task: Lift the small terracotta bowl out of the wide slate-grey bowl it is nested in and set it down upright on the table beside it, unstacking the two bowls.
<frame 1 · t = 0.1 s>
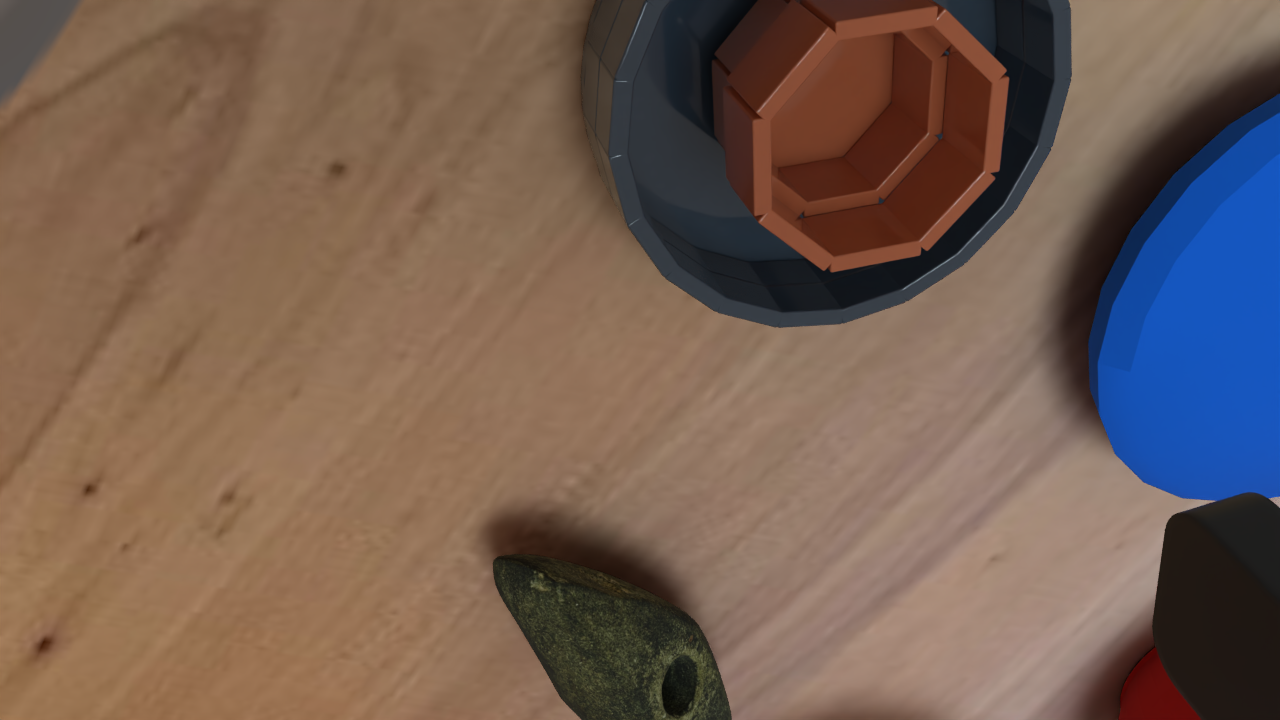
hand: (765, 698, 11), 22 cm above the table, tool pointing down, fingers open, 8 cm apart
terracotta bowl: (840, 109, 30), in the slate bowl
ceramic cup: (1220, 670, 53), on the table
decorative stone: (602, 608, 41), on the table
slate bowl: (798, 69, 32), on the table, touching terracotta bowl
blue dish: (1257, 259, 40), on the table
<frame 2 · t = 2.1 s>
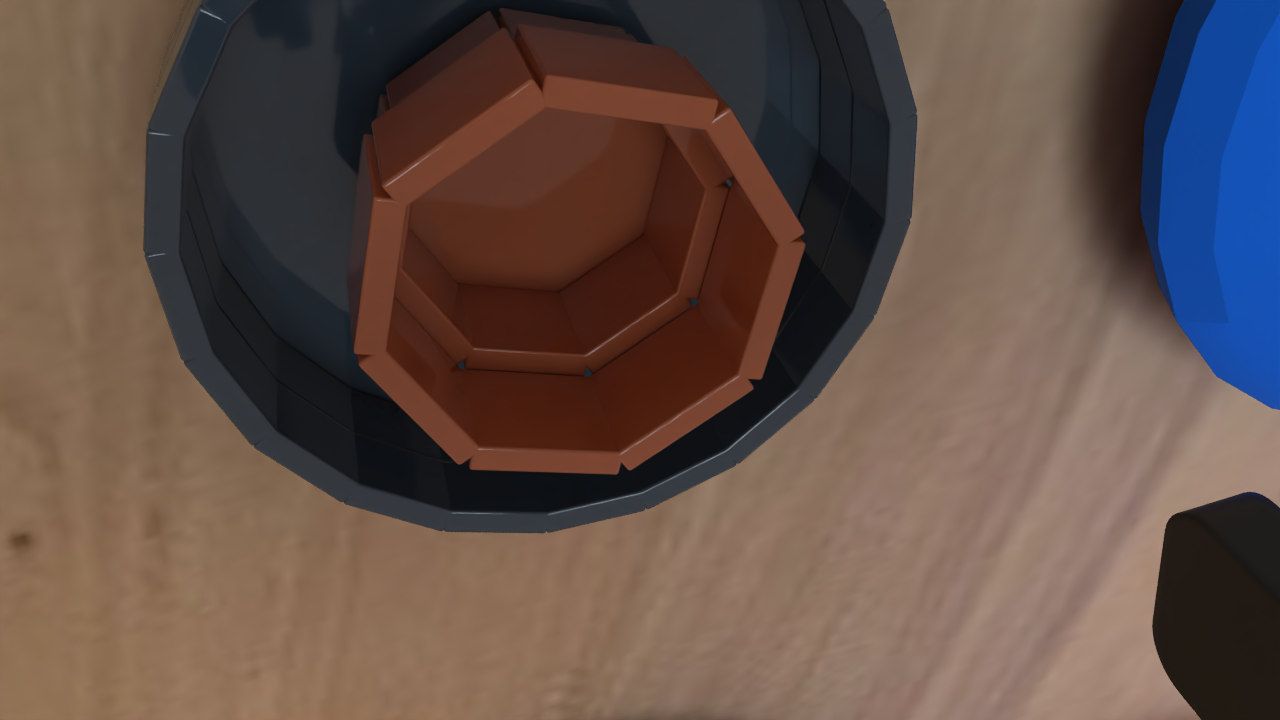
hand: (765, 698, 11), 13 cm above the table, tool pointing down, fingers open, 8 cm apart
terracotta bowl: (553, 221, 19), in the slate bowl
slate bowl: (521, 149, 21), on the table, touching terracotta bowl
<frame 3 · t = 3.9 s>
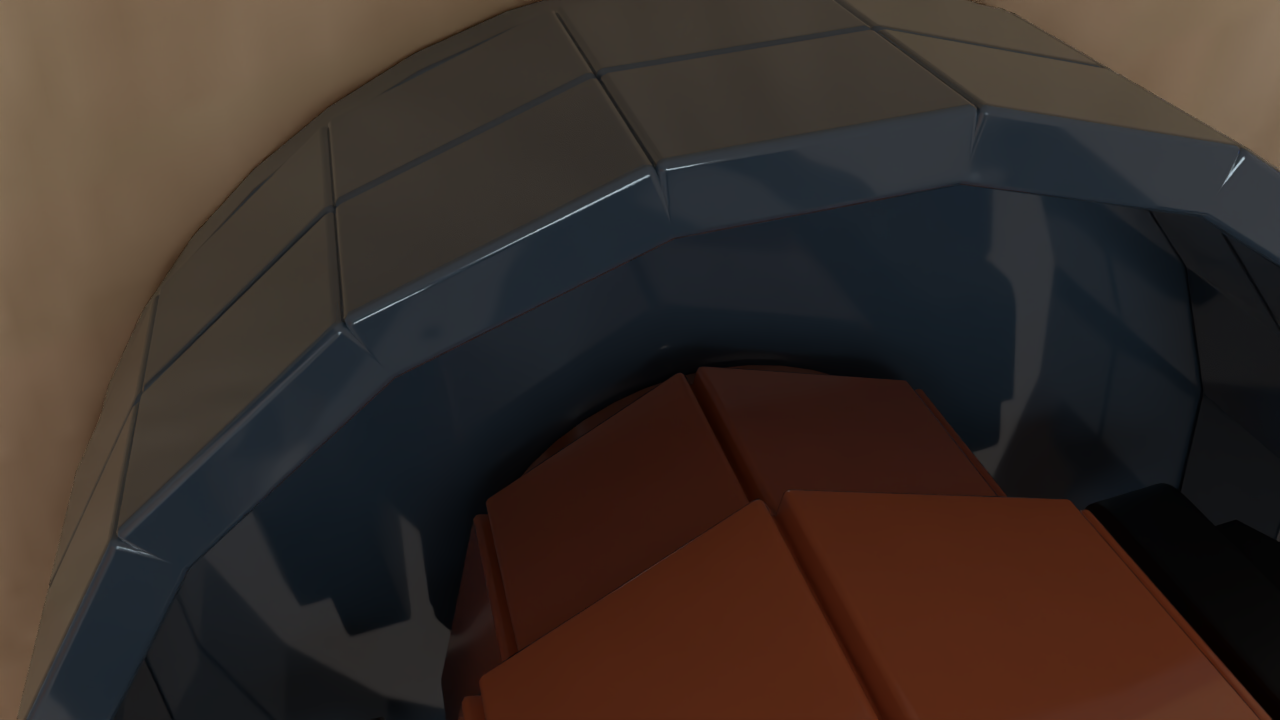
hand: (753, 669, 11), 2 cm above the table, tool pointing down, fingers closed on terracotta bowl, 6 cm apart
slate bowl: (697, 535, 13), on the table, touching terracotta bowl
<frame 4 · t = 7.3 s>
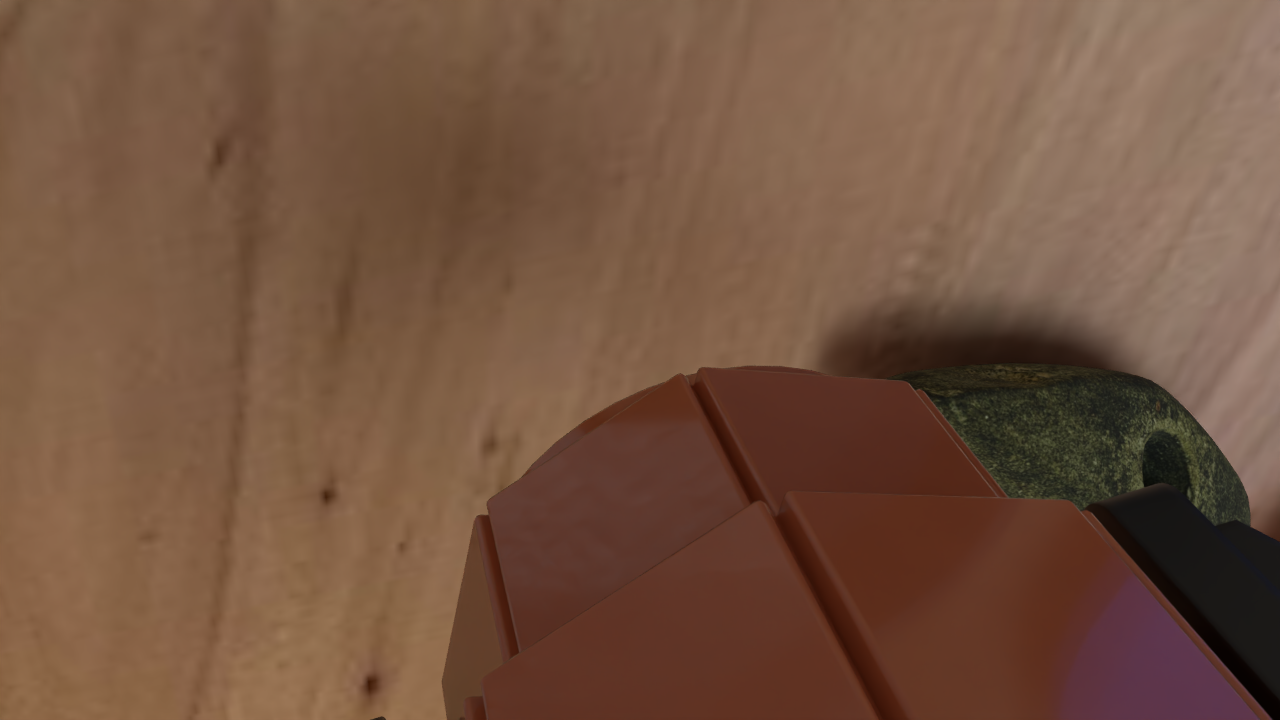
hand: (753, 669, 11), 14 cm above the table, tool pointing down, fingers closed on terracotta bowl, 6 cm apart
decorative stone: (1012, 410, 30), on the table
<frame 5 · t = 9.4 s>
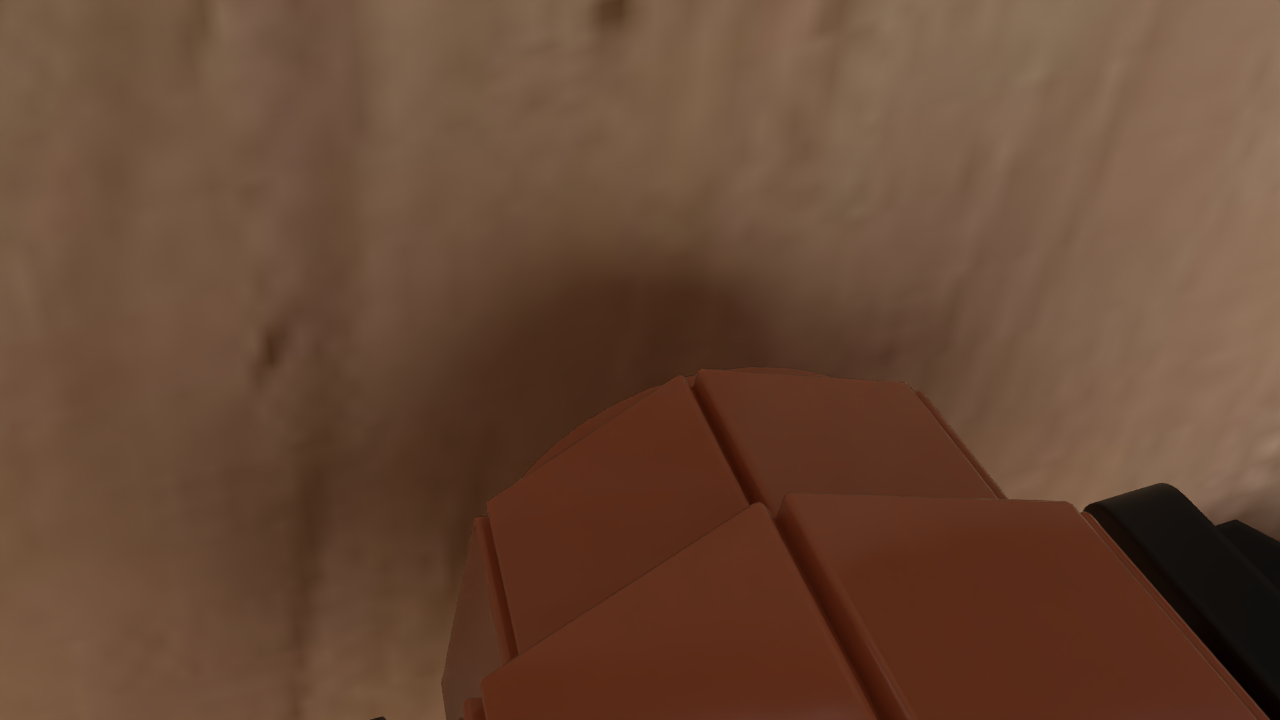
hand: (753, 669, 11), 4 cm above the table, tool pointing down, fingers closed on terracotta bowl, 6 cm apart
when the fingers open (1 cm above the table, at t = 10.8 s): terracotta bowl stays where it is, on the table.
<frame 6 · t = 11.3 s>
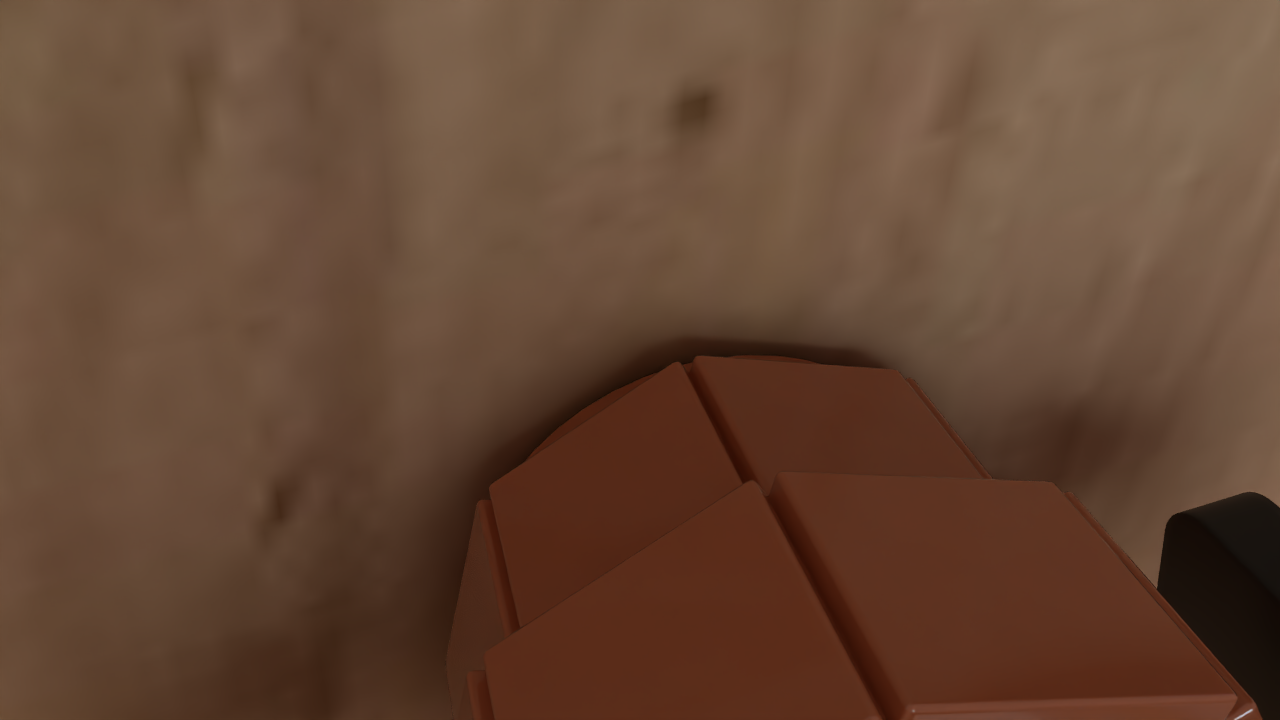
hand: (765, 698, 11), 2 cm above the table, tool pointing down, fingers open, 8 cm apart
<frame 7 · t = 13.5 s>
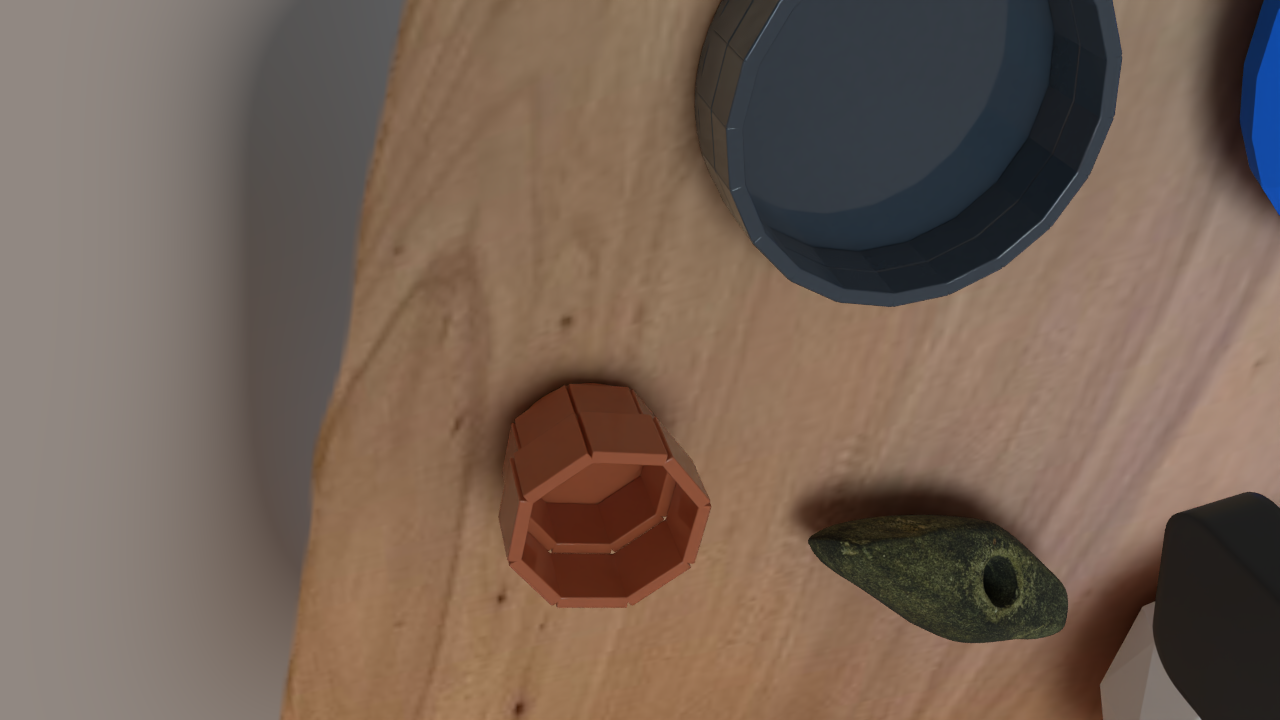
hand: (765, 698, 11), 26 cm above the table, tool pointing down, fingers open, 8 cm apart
terracotta bowl: (595, 485, 39), on the table
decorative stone: (917, 535, 48), on the table
slate bowl: (880, 82, 37), on the table
geodesic sphere: (1180, 619, 55), on the table
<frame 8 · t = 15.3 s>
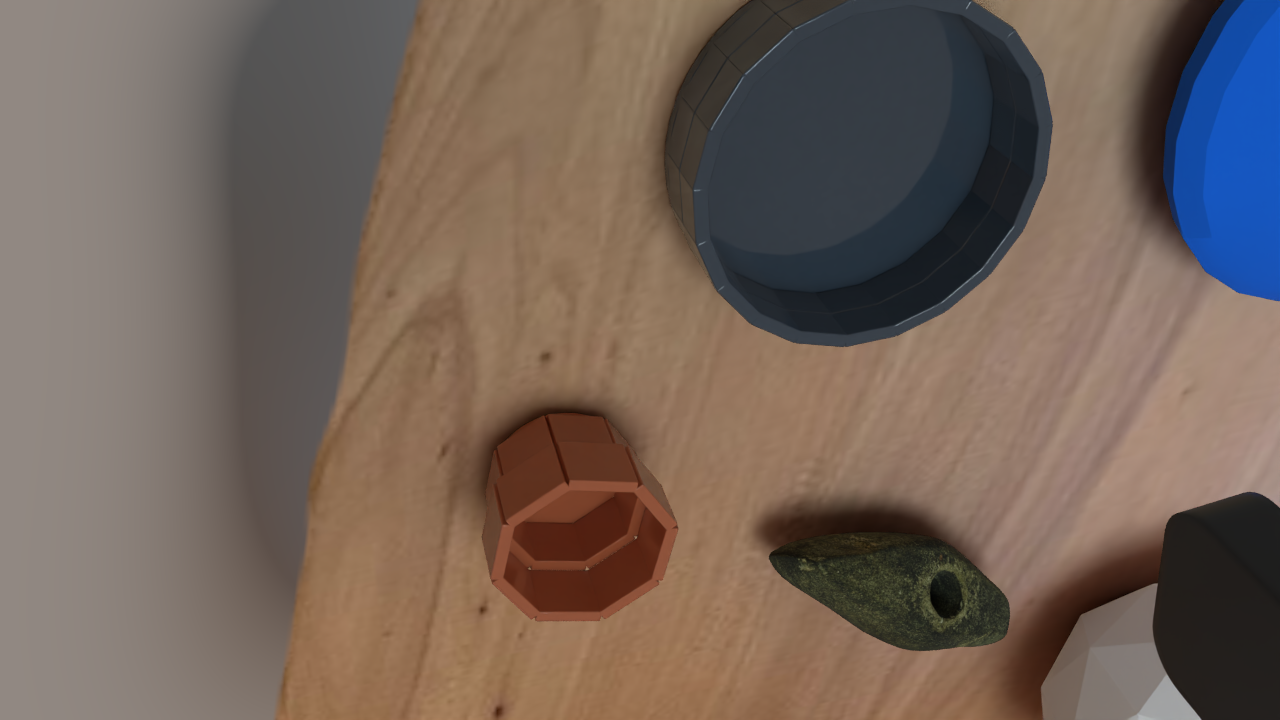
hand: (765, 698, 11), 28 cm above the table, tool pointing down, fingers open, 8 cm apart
terracotta bowl: (571, 508, 43), on the table
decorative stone: (871, 549, 52), on the table
slate bowl: (834, 141, 40), on the table
geodesic sphere: (1117, 625, 59), on the table
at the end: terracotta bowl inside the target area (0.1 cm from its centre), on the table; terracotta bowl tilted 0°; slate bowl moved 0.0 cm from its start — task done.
